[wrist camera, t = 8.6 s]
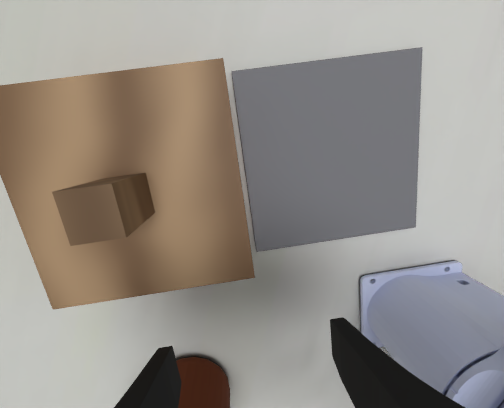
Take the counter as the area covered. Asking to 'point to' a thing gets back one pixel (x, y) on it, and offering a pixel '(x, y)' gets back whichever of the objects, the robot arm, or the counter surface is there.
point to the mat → (330, 146)
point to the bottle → (202, 384)
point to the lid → (126, 181)
